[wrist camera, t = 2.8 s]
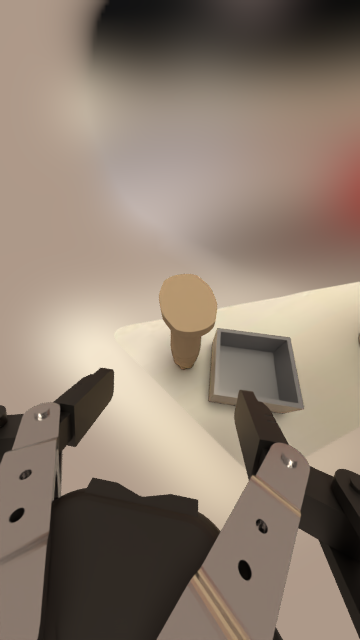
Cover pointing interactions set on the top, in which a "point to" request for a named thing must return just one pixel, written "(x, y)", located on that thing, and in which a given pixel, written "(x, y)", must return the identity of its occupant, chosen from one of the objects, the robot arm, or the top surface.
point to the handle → (187, 315)
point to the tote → (254, 370)
